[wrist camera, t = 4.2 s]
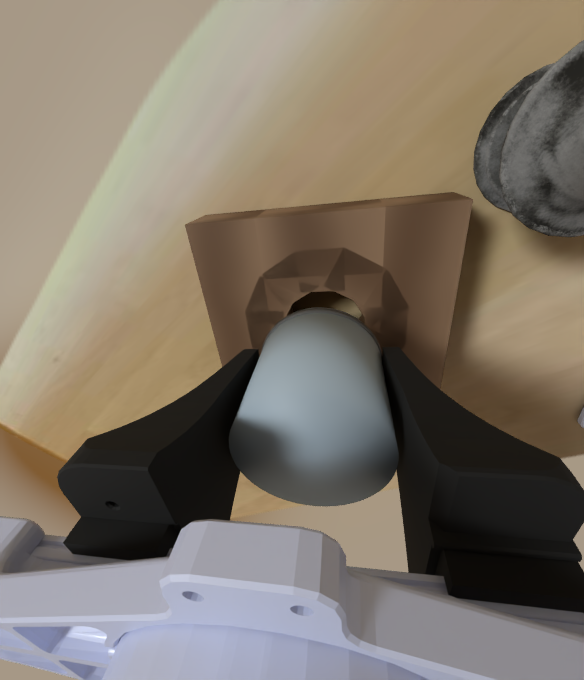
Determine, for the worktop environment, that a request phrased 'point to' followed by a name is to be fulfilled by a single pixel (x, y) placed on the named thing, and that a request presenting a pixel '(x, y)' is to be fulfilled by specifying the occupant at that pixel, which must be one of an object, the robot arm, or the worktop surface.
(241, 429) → the peg
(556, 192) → the grey flared cylinder
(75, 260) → the worktop surface
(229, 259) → the board
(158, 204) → the worktop surface
